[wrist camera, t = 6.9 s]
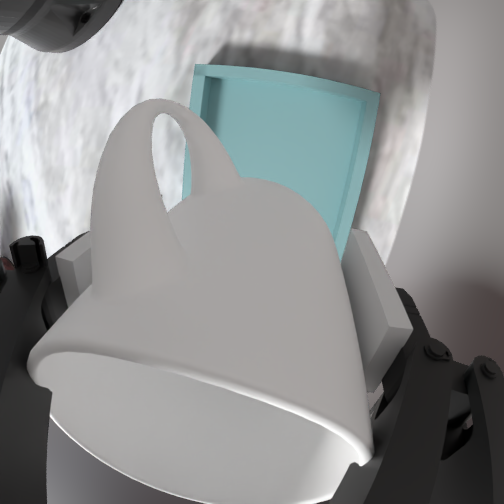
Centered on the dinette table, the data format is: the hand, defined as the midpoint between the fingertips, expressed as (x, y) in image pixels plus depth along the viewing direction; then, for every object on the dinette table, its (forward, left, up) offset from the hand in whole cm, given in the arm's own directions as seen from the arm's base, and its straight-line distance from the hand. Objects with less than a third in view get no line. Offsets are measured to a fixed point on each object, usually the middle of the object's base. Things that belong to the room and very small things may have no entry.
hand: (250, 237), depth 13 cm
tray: (0, 0, -14) cm, 14 cm away
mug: (0, -1, -1) cm, 1 cm away
